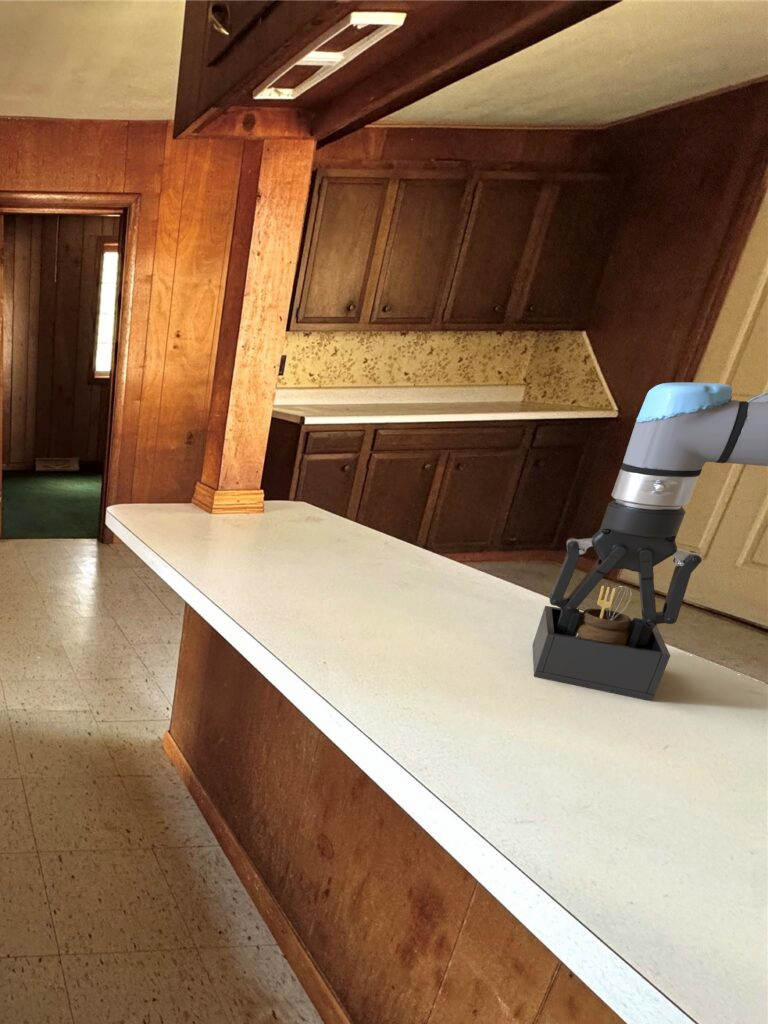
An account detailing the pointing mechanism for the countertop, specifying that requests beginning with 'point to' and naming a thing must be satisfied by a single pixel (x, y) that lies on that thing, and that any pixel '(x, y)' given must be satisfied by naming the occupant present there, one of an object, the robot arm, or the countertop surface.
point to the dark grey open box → (598, 660)
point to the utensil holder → (604, 621)
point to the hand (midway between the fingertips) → (592, 656)
